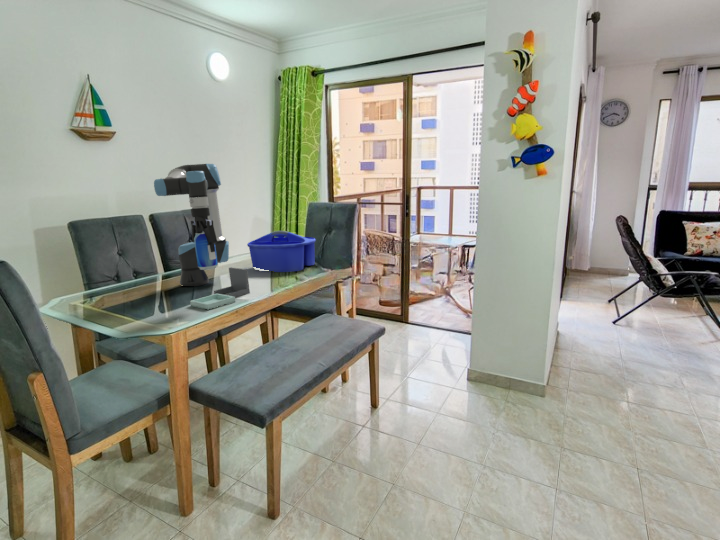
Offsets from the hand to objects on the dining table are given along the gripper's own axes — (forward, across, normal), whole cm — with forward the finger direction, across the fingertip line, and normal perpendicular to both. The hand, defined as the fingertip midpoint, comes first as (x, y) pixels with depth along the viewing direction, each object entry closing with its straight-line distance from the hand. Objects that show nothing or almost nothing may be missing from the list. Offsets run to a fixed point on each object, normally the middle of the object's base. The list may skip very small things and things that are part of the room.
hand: (206, 258), depth 192 cm
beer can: (+5, 0, 0) cm, 5 cm away
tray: (+21, 0, 0) cm, 21 cm away
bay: (+21, -7, +15) cm, 27 cm away
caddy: (+21, -36, +74) cm, 85 cm away
